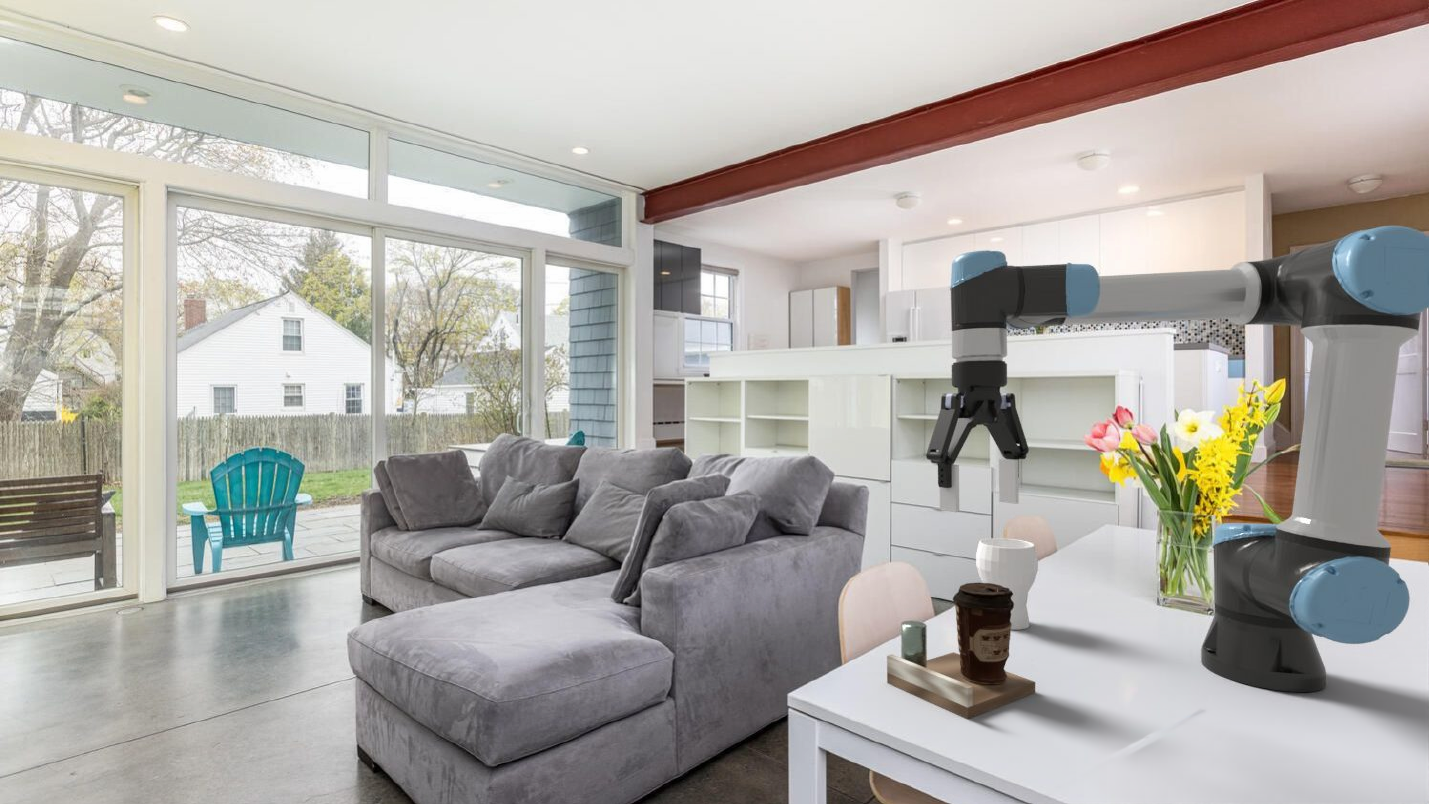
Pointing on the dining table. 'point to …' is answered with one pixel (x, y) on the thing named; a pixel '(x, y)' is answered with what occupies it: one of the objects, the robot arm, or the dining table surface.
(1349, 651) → the dining table surface
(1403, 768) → the dining table surface
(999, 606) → the coffee cup
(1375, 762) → the dining table surface
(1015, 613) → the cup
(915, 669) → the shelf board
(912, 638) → the green cylinder
